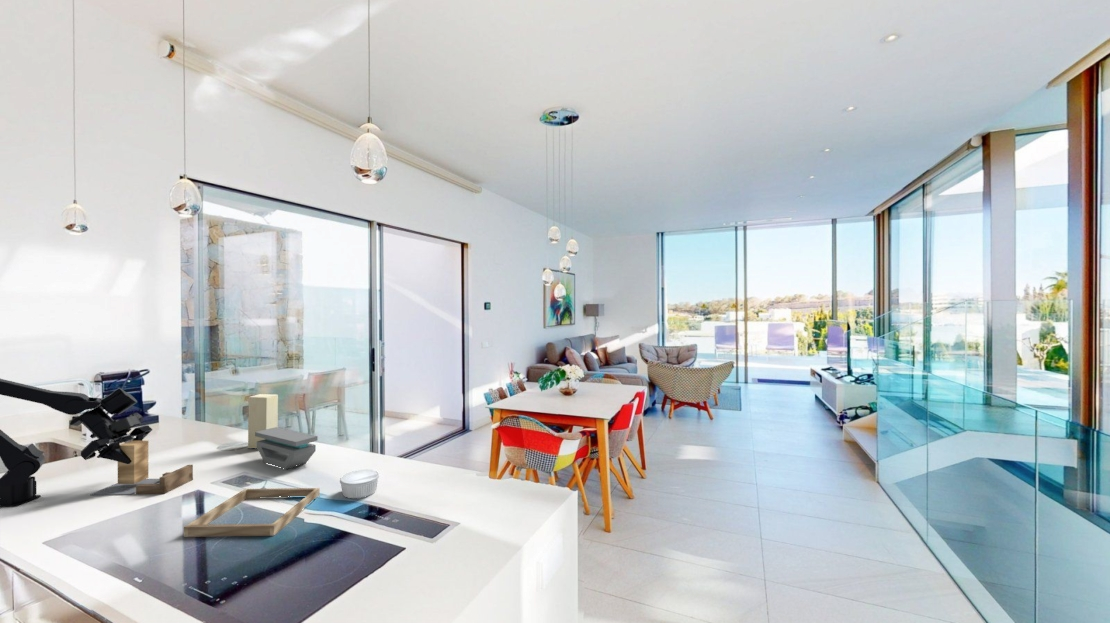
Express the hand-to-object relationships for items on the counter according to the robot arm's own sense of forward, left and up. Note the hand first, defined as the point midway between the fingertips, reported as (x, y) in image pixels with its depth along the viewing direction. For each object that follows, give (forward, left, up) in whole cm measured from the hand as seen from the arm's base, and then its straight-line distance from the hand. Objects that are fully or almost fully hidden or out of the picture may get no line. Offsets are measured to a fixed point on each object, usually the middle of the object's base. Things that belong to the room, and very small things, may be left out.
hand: (137, 459), depth 140 cm
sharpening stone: (+20, -35, -9) cm, 41 cm away
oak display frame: (-20, -50, -9) cm, 54 cm away
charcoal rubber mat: (0, +3, -9) cm, 9 cm away
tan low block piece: (0, -8, -9) cm, 12 cm away
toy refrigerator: (+40, -15, -9) cm, 44 cm away
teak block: (0, +1, -7) cm, 7 cm away
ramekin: (-6, -72, -9) cm, 72 cm away
